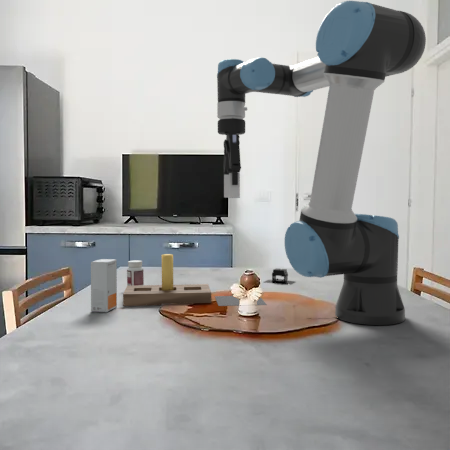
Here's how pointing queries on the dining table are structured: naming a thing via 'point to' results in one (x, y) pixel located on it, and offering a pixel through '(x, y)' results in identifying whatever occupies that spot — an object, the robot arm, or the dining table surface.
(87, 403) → the dining table surface
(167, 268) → the peg
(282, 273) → the black box
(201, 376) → the dining table surface
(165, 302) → the block
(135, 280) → the pill bottle
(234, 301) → the mat
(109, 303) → the skincare box
